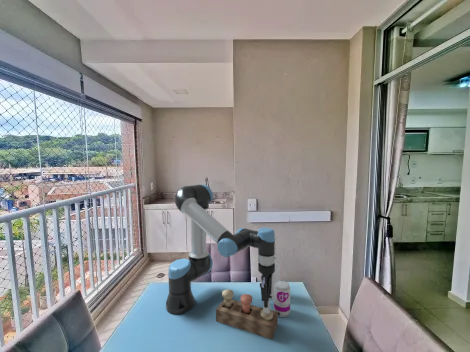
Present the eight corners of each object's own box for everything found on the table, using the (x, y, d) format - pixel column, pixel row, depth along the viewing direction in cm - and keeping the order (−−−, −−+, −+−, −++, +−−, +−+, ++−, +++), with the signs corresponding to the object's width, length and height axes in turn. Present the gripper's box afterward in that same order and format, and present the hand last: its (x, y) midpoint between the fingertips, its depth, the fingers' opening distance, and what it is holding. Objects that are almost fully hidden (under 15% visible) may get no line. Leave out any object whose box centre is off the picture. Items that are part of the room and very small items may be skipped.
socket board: (216, 321, 106) (215, 309, 106) (225, 308, 115) (225, 297, 115) (272, 339, 95) (272, 326, 94) (277, 324, 104) (277, 312, 103)
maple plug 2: (259, 330, 99) (259, 315, 99) (262, 321, 105) (262, 307, 104) (271, 333, 97) (271, 318, 97) (274, 325, 102) (274, 310, 102)
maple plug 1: (220, 308, 107) (220, 294, 107) (225, 301, 113) (225, 288, 112) (230, 311, 105) (230, 297, 105) (235, 304, 110) (235, 290, 110)
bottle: (280, 293, 129) (280, 243, 127) (278, 301, 121) (278, 248, 119) (267, 290, 131) (266, 241, 130) (264, 298, 124) (264, 246, 122)
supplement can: (290, 319, 107) (290, 289, 106) (273, 316, 109) (273, 287, 108) (289, 308, 115) (289, 280, 114) (274, 306, 117) (273, 279, 116)
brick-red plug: (238, 313, 103) (238, 299, 103) (243, 306, 108) (243, 293, 108) (249, 317, 101) (249, 302, 101) (254, 309, 106) (253, 295, 106)
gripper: (270, 270, 92) (270, 324, 93) (278, 258, 104) (278, 306, 105) (253, 267, 95) (254, 319, 96) (262, 255, 107) (263, 302, 108)
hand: (266, 312), depth 100 cm, fingers closed
